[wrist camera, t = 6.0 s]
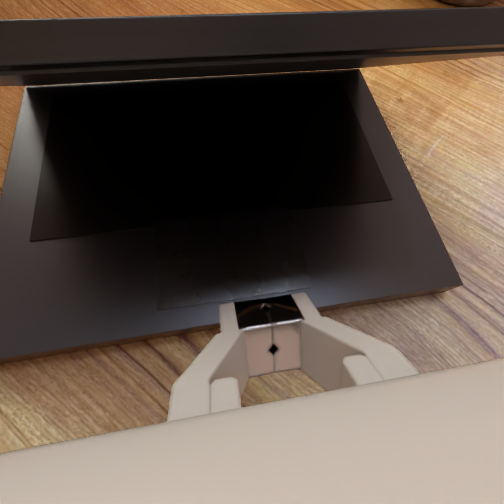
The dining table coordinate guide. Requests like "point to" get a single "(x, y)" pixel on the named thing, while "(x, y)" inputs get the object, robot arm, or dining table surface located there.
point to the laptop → (202, 207)
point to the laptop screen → (240, 43)
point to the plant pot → (468, 2)
